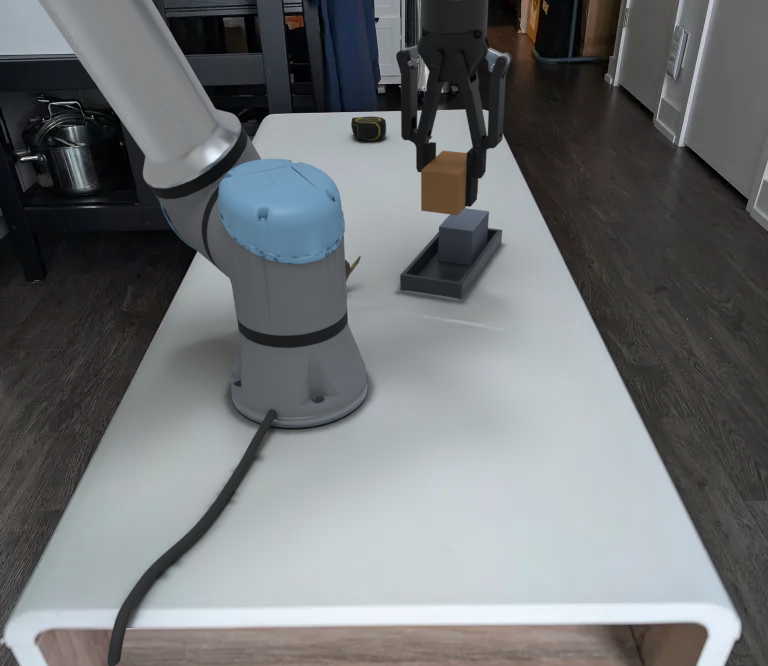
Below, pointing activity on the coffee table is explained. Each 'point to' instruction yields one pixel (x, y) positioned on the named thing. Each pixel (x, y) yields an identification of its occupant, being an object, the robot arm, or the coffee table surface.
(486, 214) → the grey block
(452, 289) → the carrier tray
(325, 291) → the robot arm
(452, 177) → the brown block
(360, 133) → the tape measure
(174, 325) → the coffee table surface
